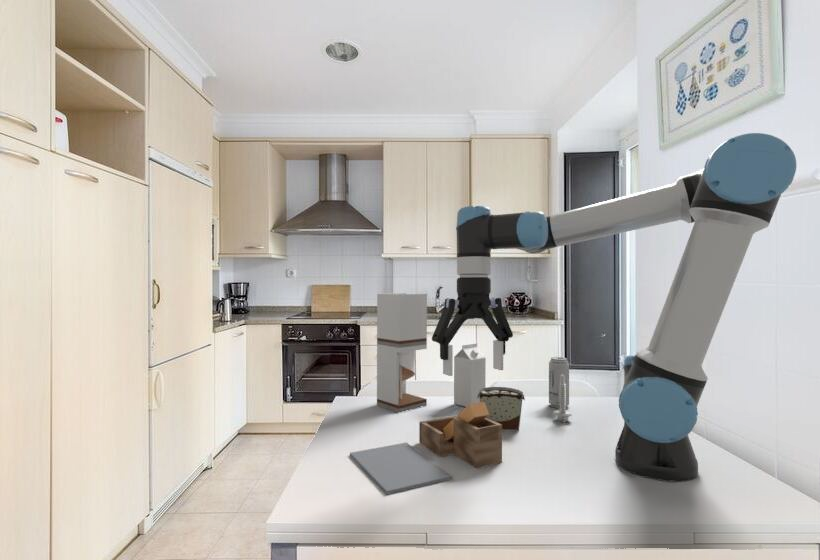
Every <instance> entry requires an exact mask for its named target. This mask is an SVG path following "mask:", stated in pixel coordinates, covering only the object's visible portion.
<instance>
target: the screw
mask: <svg viewBox="0 0 820 560" xmlns="http://www.w3.org/2000/svg"><path fill="white" fill-rule="evenodd" d="M565 385H566V384H565V375H563V374H562V375H561V376H560V393H559V394H560V395H559V396H560V397H559V398H560V399H559V400H560V401H559V402H560V408H559V409H555V410H553V415H555V416H556V417H557V421H558V420H559V421H558V422H561V421H562V423H565V422H566V421H567V422H569V421H568V420H569V417H571V416H572V415H573V414H572V412H570V411H569V410H567V408H566V407H565V406H566V403H565V402H566V394H565V393H566V390H565V389H566V386H565Z"/></svg>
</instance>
